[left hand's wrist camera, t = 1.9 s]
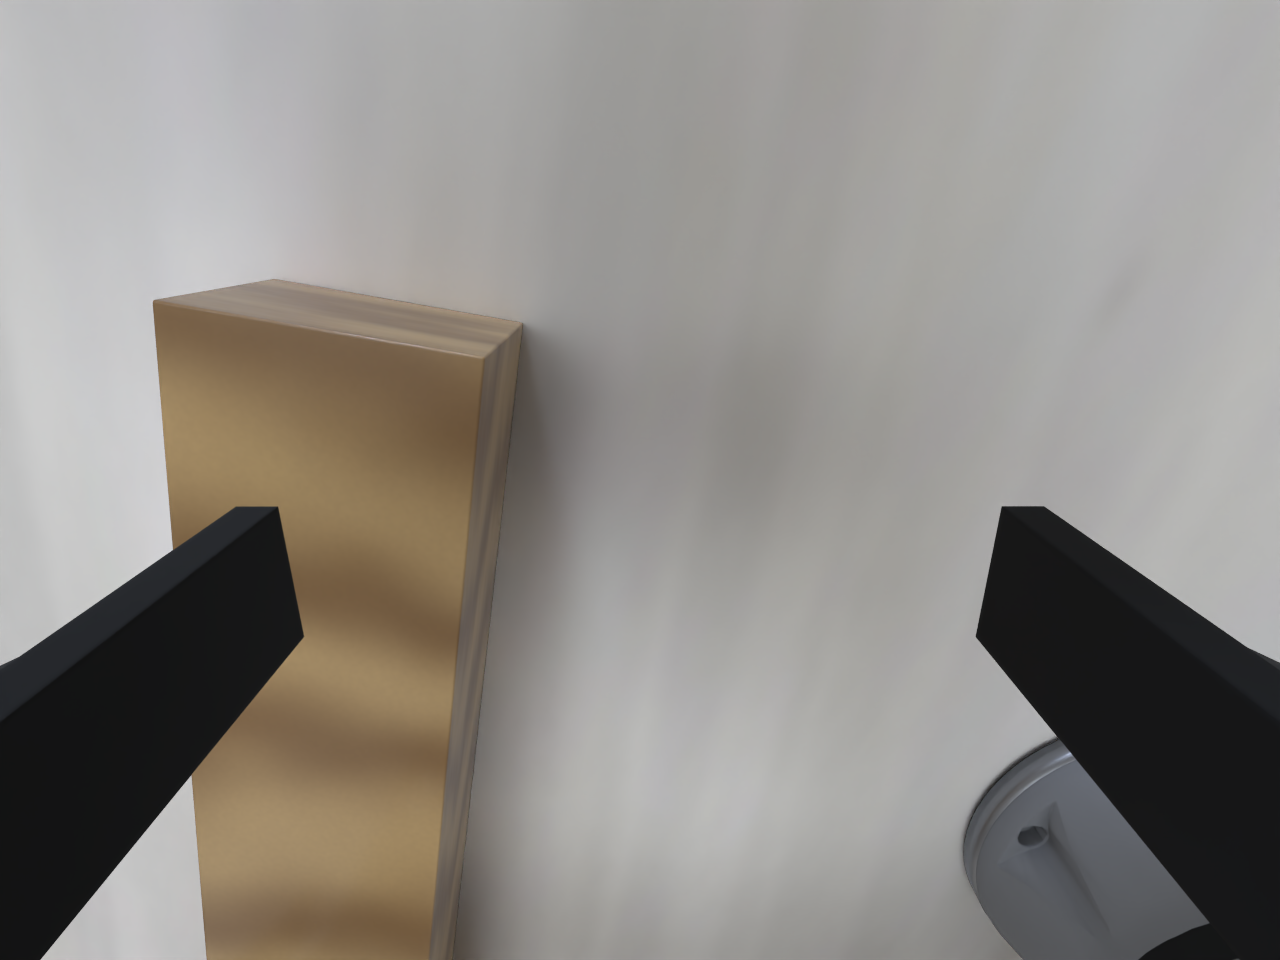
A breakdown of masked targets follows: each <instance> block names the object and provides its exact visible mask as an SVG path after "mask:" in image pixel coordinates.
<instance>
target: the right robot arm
mask: <svg viewBox="0 0 1280 960" xmlns="http://www.w3.org/2000/svg"><path fill="white" fill-rule="evenodd" d="M964 864H965V869H966V873H967V876H968V879H969V881H970V883H971V885H972V887H973V889H974V892H975V894H976V896H977V898H978V900H979V902H980V904H981V906H982V908H983V910H984V911H985V913H986V914H987V916H988V917H989V919H990V920H991V922H992V923H993V925H994V926H995V928H996V929H997V930H998V932H999V933H1000V934H1001V935H1002V937H1003V938H1004V939H1005V940H1006V941H1007V942H1008V943H1009V944H1010V945H1011V947H1012V948H1013V949H1014V950H1015V951H1016V952H1017V953H1018V954H1019V955H1020V956H1021V957H1022V959H1023V960H1239V958H1238V957H1237V956H1236V955H1235V953H1234V952H1233V951H1232V950H1231V948H1230V947H1229V946H1228V945H1227V944H1226V942H1225V941H1224V940H1223V939H1222V937H1221V936H1220V935H1219V934H1218V933H1217V931H1216V930H1215V929H1214V928H1213V926H1212V925H1211V924H1210V923H1209V922H1208V920H1207V919H1206V918H1205V917H1204V915H1203V914H1202V913H1201V912H1200V911H1199V909H1198V908H1197V907H1196V906H1195V904H1194V903H1193V902H1192V901H1191V900H1190V898H1189V897H1188V896H1187V895H1186V893H1185V892H1184V891H1183V890H1182V889H1181V887H1180V886H1179V885H1178V884H1177V882H1176V881H1175V880H1174V879H1173V878H1172V876H1171V875H1170V874H1169V873H1168V871H1167V870H1166V869H1165V868H1164V867H1163V865H1162V864H1161V863H1160V862H1159V860H1158V859H1157V858H1156V857H1155V855H1154V854H1153V853H1152V852H1151V851H1150V849H1149V848H1148V847H1147V846H1146V844H1145V843H1144V842H1143V841H1142V840H1141V838H1140V837H1139V836H1138V835H1137V833H1136V832H1135V831H1134V830H1133V829H1132V827H1131V826H1130V825H1129V824H1128V822H1127V821H1126V820H1125V819H1124V818H1123V816H1122V815H1121V814H1120V813H1119V811H1118V810H1117V809H1116V808H1115V807H1114V805H1113V804H1112V803H1111V802H1110V800H1109V799H1108V798H1107V797H1106V796H1105V794H1104V793H1103V792H1102V791H1101V789H1100V788H1099V787H1098V786H1097V785H1096V783H1095V782H1094V781H1093V780H1092V778H1091V777H1090V776H1089V775H1088V774H1087V772H1086V771H1085V770H1084V769H1083V767H1082V766H1081V765H1080V764H1079V762H1078V761H1077V760H1076V759H1075V758H1074V756H1073V755H1072V754H1071V753H1070V751H1069V750H1068V749H1067V748H1066V747H1065V745H1064V744H1063V743H1062V742H1061V740H1058V741H1056V742H1054V743H1052V744H1050V745H1048V746H1046V747H1044V748H1042V749H1040V750H1039V751H1037V752H1035V753H1033V754H1032V755H1030V756H1029V757H1027V758H1026V759H1024V760H1023V761H1021V762H1020V763H1019V764H1017V765H1016V766H1015V767H1013V768H1012V769H1011V770H1010V771H1009V772H1007V773H1006V774H1005V775H1004V776H1003V777H1002V778H1001V779H1000V780H999V781H998V782H997V783H996V784H995V785H994V786H993V787H992V788H991V789H990V791H989V792H988V793H987V794H986V796H985V797H984V798H983V800H982V801H981V803H980V804H979V806H978V808H977V809H976V811H975V813H974V815H973V817H972V819H971V821H970V824H969V827H968V830H967V833H966V838H965V843H964Z"/></svg>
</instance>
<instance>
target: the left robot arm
mask: <svg viewBox="0 0 1280 960" xmlns="http://www.w3.org/2000/svg"><path fill="white" fill-rule="evenodd" d="M303 638H304V633H303V628H302V623H301V618H300V613H299V608H298V603H297V598H296V593H295V588H294V583H293V578H292V573H291V568H290V563H289V558H288V553H287V548H286V543H285V538H284V533H283V528H282V523H281V518H280V513H279V508H278V506H236V507H234V508H233V509H232V510H230V511H229V512H227V513H226V514H224V515H223V516H221V517H220V518H219V519H217V520H216V521H214V522H213V523H211V524H210V525H209V526H207V527H206V528H204V529H203V530H201V531H200V532H198V533H197V534H196V535H194V536H193V537H191V538H190V539H188V540H187V541H185V542H184V543H183V544H181V545H180V546H178V547H177V548H175V549H174V550H173V551H171V552H170V553H168V554H167V555H165V556H164V557H162V558H161V559H160V560H158V561H157V562H155V563H154V564H152V565H151V566H149V567H148V568H147V569H145V570H144V571H142V572H141V573H139V574H138V575H137V576H135V577H134V578H132V579H131V580H129V581H128V582H126V583H125V584H124V585H122V586H121V587H119V588H118V589H116V590H115V591H113V592H112V593H111V594H109V595H108V596H106V597H105V598H103V599H102V600H101V601H99V602H98V603H96V604H95V605H93V606H92V607H90V608H89V609H88V610H86V611H85V612H83V613H82V614H80V615H79V616H77V617H76V618H75V619H73V620H72V621H70V622H69V623H67V624H66V625H65V626H63V627H62V628H60V629H59V630H57V631H56V632H54V633H53V634H52V635H50V636H49V637H47V638H46V639H44V640H43V641H41V642H40V643H39V644H37V645H36V646H34V647H33V648H31V649H30V650H29V651H27V652H26V653H24V654H23V655H21V656H20V657H18V658H16V659H14V660H12V661H10V662H7V663H5V664H3V665H1V666H0V960H41V958H42V957H43V956H44V955H45V953H46V952H47V951H48V950H49V948H50V947H51V946H52V945H53V944H54V942H55V941H56V940H57V939H58V937H59V936H60V935H61V934H62V933H63V931H64V930H65V929H66V928H67V926H68V925H69V924H70V923H71V922H72V920H73V919H74V918H75V917H76V915H77V914H78V913H79V912H80V911H81V909H82V908H83V907H84V906H85V904H86V903H87V902H88V901H89V900H90V898H91V897H92V896H93V895H94V893H95V892H96V891H97V890H98V889H99V887H100V886H101V885H102V884H103V882H104V881H105V880H106V879H107V878H108V876H109V875H110V874H111V873H112V871H113V870H114V869H115V868H116V867H117V865H118V864H119V863H120V862H121V860H122V859H123V858H124V857H125V855H126V854H127V853H128V852H129V851H130V849H131V848H132V847H133V846H134V844H135V843H136V842H137V841H138V840H139V838H140V837H141V836H142V835H143V833H144V832H145V831H146V830H147V829H148V827H149V826H150V825H151V824H152V822H153V821H154V820H155V819H156V818H157V816H158V815H159V814H160V813H161V811H162V810H163V809H164V808H165V807H166V805H167V804H168V803H169V802H170V800H171V799H172V798H173V797H174V796H175V794H176V793H177V792H178V791H179V789H180V788H181V787H182V786H183V785H184V783H185V782H186V781H187V780H188V778H189V777H190V776H191V775H192V774H193V772H194V771H195V770H196V769H197V767H198V766H199V765H200V764H201V762H202V761H203V760H204V759H205V758H206V756H207V755H208V754H209V753H210V751H211V750H212V749H213V748H214V747H215V745H216V744H217V743H218V742H219V740H220V739H221V738H222V737H223V736H224V734H225V733H226V732H227V731H228V729H229V728H230V727H231V726H232V725H233V723H234V722H235V721H236V720H237V718H238V717H239V716H240V715H241V714H242V712H243V711H244V710H245V709H246V707H247V706H248V705H249V704H250V703H251V701H252V700H253V699H254V698H255V696H256V695H257V694H258V693H259V692H260V690H261V689H262V688H263V687H264V685H265V684H266V683H267V682H268V681H269V679H270V678H271V677H272V676H273V674H274V673H275V672H276V671H277V669H278V668H279V667H280V666H281V665H282V663H283V662H284V661H285V660H286V658H287V657H288V656H289V655H290V654H291V652H292V651H293V650H294V649H295V647H296V646H297V645H298V644H299V643H300V641H301V640H302V639H303ZM976 638H977V639H978V640H979V641H980V643H981V644H982V645H983V646H984V647H985V649H986V650H987V651H988V652H989V654H990V655H991V656H992V657H993V658H994V660H995V661H996V662H997V663H998V665H999V666H1000V667H1001V668H1002V669H1003V671H1004V672H1005V673H1006V674H1007V676H1008V677H1009V678H1010V679H1011V681H1012V682H1013V683H1014V684H1015V685H1016V687H1017V688H1018V689H1019V690H1020V692H1021V693H1022V694H1023V695H1024V696H1025V698H1026V699H1027V700H1028V701H1029V703H1030V704H1031V705H1032V706H1033V707H1034V709H1035V710H1036V711H1037V712H1038V714H1039V715H1040V716H1041V717H1042V718H1043V720H1044V721H1045V722H1046V723H1047V725H1048V726H1049V727H1050V728H1051V729H1052V731H1053V732H1054V733H1055V734H1056V736H1057V737H1058V738H1059V739H1060V740H1061V742H1062V743H1063V744H1064V745H1065V747H1066V748H1067V749H1068V750H1069V751H1070V753H1071V754H1072V755H1073V756H1074V758H1075V759H1076V760H1077V761H1078V762H1079V764H1080V765H1081V766H1082V767H1083V769H1084V770H1085V771H1086V772H1087V774H1088V775H1089V776H1090V777H1091V778H1092V780H1093V781H1094V782H1095V783H1096V785H1097V786H1098V787H1099V788H1100V789H1101V791H1102V792H1103V793H1104V794H1105V796H1106V797H1107V798H1108V799H1109V800H1110V802H1111V803H1112V804H1113V805H1114V807H1115V808H1116V809H1117V810H1118V811H1119V813H1120V814H1121V815H1122V816H1123V818H1124V819H1125V820H1126V821H1127V822H1128V824H1129V825H1130V826H1131V827H1132V829H1133V830H1134V831H1135V832H1136V833H1137V835H1138V836H1139V837H1140V838H1141V840H1142V841H1143V842H1144V843H1145V844H1146V846H1147V847H1148V848H1149V849H1150V851H1151V852H1152V853H1153V854H1154V855H1155V857H1156V858H1157V859H1158V860H1159V862H1160V863H1161V864H1162V865H1163V867H1164V868H1165V869H1166V870H1167V871H1168V873H1169V874H1170V875H1171V876H1172V878H1173V879H1174V880H1175V881H1176V882H1177V884H1178V885H1179V886H1180V887H1181V889H1182V890H1183V891H1184V892H1185V893H1186V895H1187V896H1188V897H1189V898H1190V900H1191V901H1192V902H1193V903H1194V904H1195V906H1196V907H1197V908H1198V909H1199V911H1200V912H1201V913H1202V914H1203V915H1204V917H1205V918H1206V919H1207V920H1208V922H1209V923H1210V924H1211V925H1212V926H1213V928H1214V929H1215V930H1216V931H1217V933H1218V934H1219V935H1220V936H1221V937H1222V939H1223V940H1224V941H1225V942H1226V944H1227V945H1228V946H1229V947H1230V948H1231V950H1232V951H1233V952H1234V953H1235V955H1236V956H1237V957H1238V958H1239V960H1280V663H1279V662H1277V661H1275V660H1273V659H1271V658H1268V657H1266V656H1264V655H1262V654H1260V653H1258V652H1256V651H1254V650H1251V649H1249V648H1247V647H1246V646H1244V645H1243V644H1241V643H1240V642H1239V641H1237V640H1236V639H1234V638H1233V637H1231V636H1230V635H1228V634H1227V633H1226V632H1224V631H1223V630H1221V629H1220V628H1218V627H1217V626H1215V625H1214V624H1213V623H1211V622H1210V621H1208V620H1207V619H1205V618H1204V617H1203V616H1201V615H1200V614H1198V613H1197V612H1195V611H1194V610H1192V609H1191V608H1190V607H1188V606H1187V605H1185V604H1184V603H1182V602H1181V601H1179V600H1178V599H1177V598H1175V597H1174V596H1172V595H1171V594H1169V593H1168V592H1167V591H1165V590H1164V589H1162V588H1161V587H1159V586H1158V585H1156V584H1155V583H1154V582H1152V581H1151V580H1149V579H1148V578H1146V577H1145V576H1143V575H1142V574H1141V573H1139V572H1138V571H1136V570H1135V569H1133V568H1132V567H1131V566H1129V565H1128V564H1126V563H1125V562H1123V561H1122V560H1120V559H1119V558H1118V557H1116V556H1115V555H1113V554H1112V553H1110V552H1109V551H1107V550H1106V549H1105V548H1103V547H1102V546H1100V545H1099V544H1097V543H1096V542H1095V541H1093V540H1092V539H1090V538H1089V537H1087V536H1086V535H1084V534H1083V533H1082V532H1080V531H1079V530H1077V529H1076V528H1074V527H1073V526H1071V525H1070V524H1069V523H1067V522H1066V521H1064V520H1063V519H1061V518H1060V517H1058V516H1057V515H1056V514H1054V513H1053V512H1051V511H1050V510H1048V509H1047V508H1046V507H1044V506H1002V508H1001V513H1000V518H999V523H998V528H997V533H996V538H995V543H994V548H993V553H992V558H991V563H990V568H989V573H988V578H987V583H986V588H985V593H984V598H983V603H982V608H981V613H980V618H979V623H978V628H977V633H976Z"/></svg>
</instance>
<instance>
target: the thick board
mask: <svg viewBox="0 0 1280 960" xmlns="http://www.w3.org/2000/svg"><path fill="white" fill-rule="evenodd" d="M153 311H154V324H155V336H156V348H157V360H158V372H159V384H160V396H161V409H162V421H163V433H164V445H165V457H166V469H167V482H168V494H169V506H170V518H171V530H172V542H173V550H174V549H175V548H177V547H178V546H180V545H181V544H183V543H184V542H185V541H187V540H188V539H190V538H191V537H193V536H194V535H196V534H197V533H198V532H200V531H201V530H203V529H204V528H206V527H207V526H209V525H210V524H211V523H213V522H214V521H216V520H217V519H219V518H220V517H221V516H223V515H224V514H226V513H227V512H229V511H230V510H232V509H233V508H234V507H236V506H278V508H279V513H280V518H281V523H282V528H283V533H284V538H285V543H286V548H287V553H288V558H289V563H290V568H291V573H292V578H293V583H294V588H295V593H296V598H297V603H298V608H299V613H300V618H301V623H302V628H303V633H304V638H303V639H302V640H301V641H300V643H299V644H298V645H297V646H296V647H295V649H294V650H293V651H292V652H291V654H290V655H289V656H288V657H287V658H286V660H285V661H284V662H283V663H282V665H281V666H280V667H279V668H278V669H277V671H276V672H275V673H274V674H273V676H272V677H271V678H270V679H269V681H268V682H267V683H266V684H265V685H264V687H263V688H262V689H261V690H260V692H259V693H258V694H257V695H256V696H255V698H254V699H253V700H252V701H251V703H250V704H249V705H248V706H247V707H246V709H245V710H244V711H243V712H242V714H241V715H240V716H239V717H238V718H237V720H236V721H235V722H234V723H233V725H232V726H231V727H230V728H229V729H228V731H227V732H226V733H225V734H224V736H223V737H222V738H221V739H220V740H219V742H218V743H217V744H216V745H215V747H214V748H213V749H212V750H211V751H210V753H209V754H208V755H207V756H206V758H205V759H204V760H203V761H202V762H201V764H200V765H199V766H198V767H197V769H196V770H195V771H194V772H193V774H192V785H193V798H194V810H195V822H196V834H197V846H198V858H199V871H200V883H201V895H202V907H203V919H204V931H205V943H206V956H207V960H452V958H453V949H454V940H455V931H456V922H457V913H458V904H459V895H460V886H461V877H462V868H463V859H464V850H465V841H466V832H467V823H468V814H469V805H470V796H471V787H472V778H473V769H474V760H475V751H476V742H477V733H478V724H479V715H480V706H481V697H482V688H483V679H484V670H485V661H486V652H487V643H488V634H489V625H490V616H491V607H492V598H493V589H494V580H495V571H496V562H497V553H498V544H499V535H500V526H501V517H502V508H503V499H504V490H505V481H506V472H507V463H508V454H509V445H510V436H511V427H512V418H513V409H514V400H515V391H516V382H517V373H518V364H519V355H520V346H521V337H522V328H523V324H522V323H520V322H514V321H509V320H503V319H497V318H492V317H486V316H480V315H475V314H469V313H463V312H458V311H452V310H446V309H441V308H435V307H429V306H424V305H418V304H412V303H407V302H401V301H395V300H390V299H384V298H378V297H373V296H367V295H361V294H356V293H350V292H344V291H339V290H333V289H327V288H322V287H316V286H310V285H305V284H299V283H293V282H288V281H282V280H276V279H272V280H266V281H260V282H254V283H249V284H243V285H237V286H232V287H226V288H220V289H214V290H209V291H203V292H197V293H192V294H186V295H180V296H174V297H169V298H163V299H157V300H154V301H153Z"/></svg>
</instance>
